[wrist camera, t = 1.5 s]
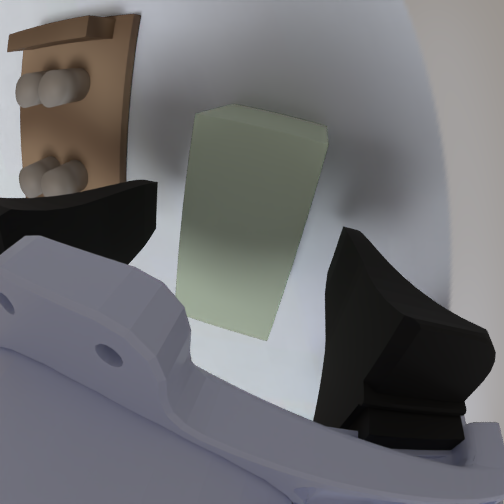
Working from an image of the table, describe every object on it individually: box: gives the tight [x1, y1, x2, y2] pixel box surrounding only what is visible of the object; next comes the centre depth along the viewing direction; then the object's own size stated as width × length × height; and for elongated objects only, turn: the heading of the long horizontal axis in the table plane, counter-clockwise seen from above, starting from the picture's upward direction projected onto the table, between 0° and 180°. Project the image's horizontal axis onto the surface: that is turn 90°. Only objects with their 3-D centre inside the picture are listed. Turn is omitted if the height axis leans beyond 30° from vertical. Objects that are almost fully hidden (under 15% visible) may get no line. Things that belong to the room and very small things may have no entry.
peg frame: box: [7, 14, 141, 198], centre depth 13 cm, size 12×8×3 cm, turn 170°
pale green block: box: [175, 104, 329, 341], centre depth 13 cm, size 8×4×4 cm, turn 168°
